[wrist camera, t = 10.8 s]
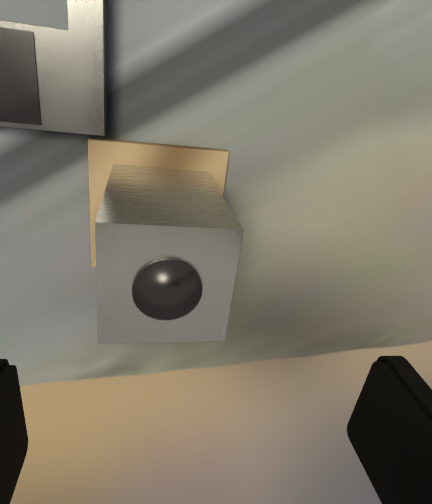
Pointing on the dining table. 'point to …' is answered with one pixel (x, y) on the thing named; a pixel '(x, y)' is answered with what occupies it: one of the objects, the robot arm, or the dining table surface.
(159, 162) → the coaster pad
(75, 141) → the dining table surface
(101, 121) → the grey metal plate
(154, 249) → the metal cube with knob
